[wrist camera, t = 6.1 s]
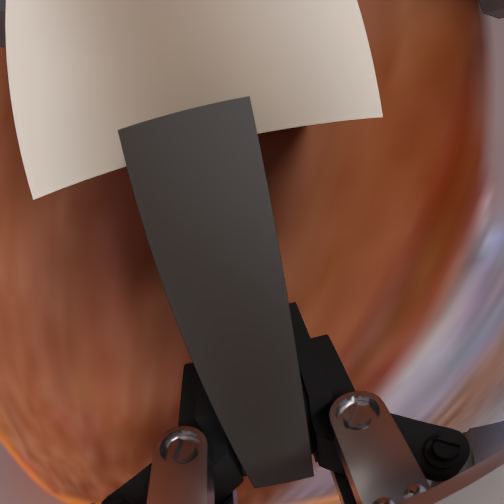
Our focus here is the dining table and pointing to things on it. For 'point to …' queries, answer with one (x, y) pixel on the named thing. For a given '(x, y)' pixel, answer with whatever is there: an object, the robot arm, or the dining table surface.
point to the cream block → (197, 166)
